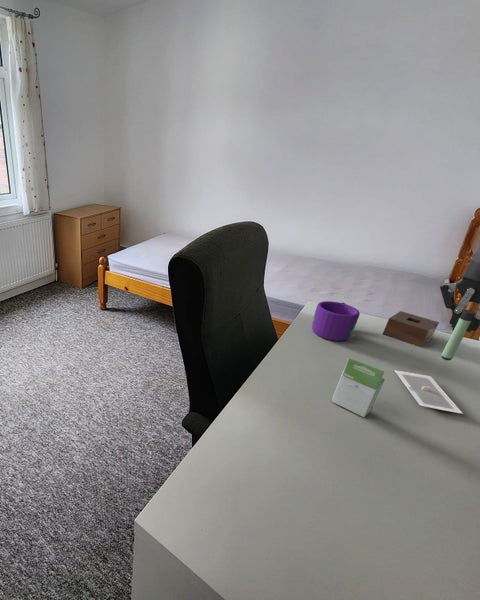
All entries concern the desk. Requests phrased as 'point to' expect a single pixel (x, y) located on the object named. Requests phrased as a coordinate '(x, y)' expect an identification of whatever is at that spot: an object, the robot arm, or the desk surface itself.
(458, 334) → the marker
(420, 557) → the desk surface
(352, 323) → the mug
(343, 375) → the ink box
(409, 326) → the pen stand
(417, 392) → the touchpad
